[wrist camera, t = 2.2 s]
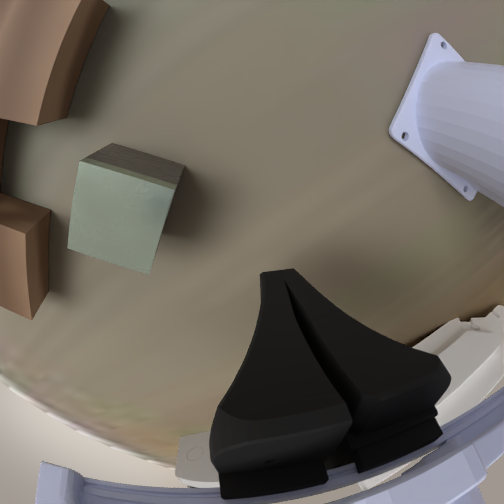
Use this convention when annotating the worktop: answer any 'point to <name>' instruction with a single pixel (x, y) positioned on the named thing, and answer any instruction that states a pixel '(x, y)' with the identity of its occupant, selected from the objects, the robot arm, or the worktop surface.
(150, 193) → the sage green cube
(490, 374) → the shelf bracket
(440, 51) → the robot arm
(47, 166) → the worktop surface
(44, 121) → the brown u-shaped block
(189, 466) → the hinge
